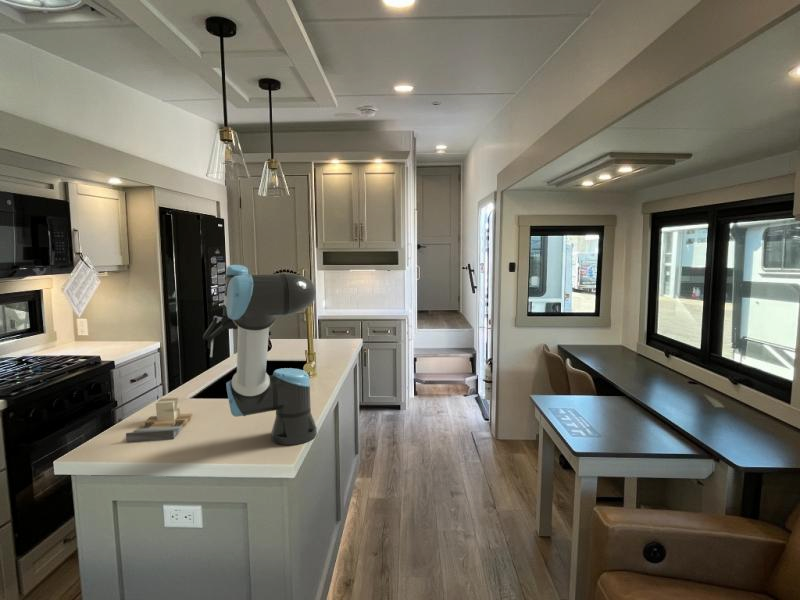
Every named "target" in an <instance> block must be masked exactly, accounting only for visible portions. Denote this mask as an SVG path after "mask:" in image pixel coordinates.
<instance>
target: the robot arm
mask: <svg viewBox="0 0 800 600" xmlns="http://www.w3.org/2000/svg"><path fill="white" fill-rule="evenodd" d="M316 293H317V292H316V287H315V284H314V283H313V281H312V280H311V279H309V278H308V277H306V276H304V275H302V274H297V273H290V272H289V273H288V272H286V273H266V274H264V273H263V274H250V273H249V268H248V267H246V266H245V265H242V264H231V265H228V266H227V267H226V271H225V286H224V297H223V309H222V310H223V312H222V316H218V315H213V319H212V322H211V323H210V324H209V326H208V327H207V329H206V330H205V332H203V335H202V340H203V341H204V340H205V341H207V349H210V353H209V358H213V354H214V353H213V351H214V339H215V338H216V337H217V336H218V335H220V334H221V332H223V331H224V330H226V329H228V330H237V348H236V349H237V352H236V353H237V354H236V372H235V373H234V374H233V376H232V379H230V380H229V381H227V382H226V383H225V384H226V385H225V386H226V393H227V398H228V403H229V408H230V409H229V410H230V414H231V415H232V417H237V418H238V417H247V416H249V415H257V414H262V413H263V414H264V413H266V412H267V413H268V412H275V419H274V422H273V426H272V429H271V440H272V441H273V443H275V444H277V445H283V446H294V445H301V444H304V443H307V442H310V441H312V440H314V439H315V438H316V437H317V434H318V432H317V431H318V428H317V424H316V423H315V420H314V417H313V415H312V410H311V383H310V375H309V374H308V372H307V371H305V370H303V369H300V368H292V367H289V368H288V367H287V368H286V367H284V368H282V367H281V368H277V369H275V370H274V371H273V373H272V375H269V374H268V373H267V360H268V350H269V349H268V348H269V347H268V346H269V339H270V338H269V334H270V328H271V327H272V326H273V325H274V324H275V322H276V319H277V318H276V317H279V316H289V315H294V314H298V313H301V312H303V311H305V310H306V309H309V307H310V306H311V305H312V304H313V302H314V301H315V299H316V295H317V294H316ZM220 322H221V324H220V325H219V326H218V328H216V329H215V330H214V328H215V327H216V325H217V324H218V323H220ZM213 330H214V331H213ZM212 331H213V332H212Z"/></svg>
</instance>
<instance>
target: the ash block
mask: <svg viewBox="0 0 800 600" xmlns="http://www.w3.org/2000/svg"><path fill="white" fill-rule="evenodd" d="M155 411H156V416H157V421H170V420H175V419H176V418H177V417H178V416H179V415H180V414H181V410H180V397H179V396H170V397H169V396H168V397H161V398H160V399H159V400H158V401H156V402H155Z"/></svg>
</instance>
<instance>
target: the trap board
mask: <svg viewBox="0 0 800 600" xmlns="http://www.w3.org/2000/svg"><path fill="white" fill-rule="evenodd" d="M193 416H194V415H193V413H180V415H179V416H178V417H177V418H176V419H175V420H170V421H157V415H151V416H150V417H148V418H147V419H146V420H145V421H144V422H143V423H142V424H141V425H139V426H138V427H137V428H136V429H135V430H134V431H133V432H126V433H125V437H126V439H125V440H126V443H135V442H136V443H137V442H139V443H140V442H149V441H151V442H153V441H163V440H164V441H165V440H174V439H175V438H176V437H177V436H178V435H179V434H180V432H181V431H182V430H183V429H185V428H184V427H186V426H187V425H188V423H189V422H190V421H191V420H192V419H193Z"/></svg>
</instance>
